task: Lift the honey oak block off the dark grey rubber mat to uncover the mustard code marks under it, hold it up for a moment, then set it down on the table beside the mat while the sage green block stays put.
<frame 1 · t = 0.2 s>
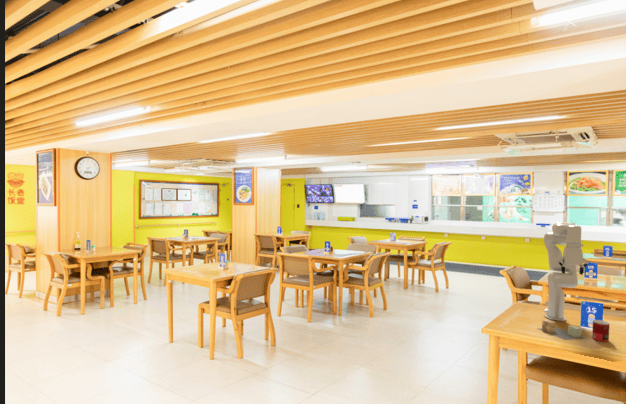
hand: (572, 273, 248), 37 cm above the table, tool pointing down, fingers open, 9 cm apart
oak block: (548, 330, 250), point 1 cm above the table, touching code mat
code mat: (560, 333, 246), on the table
sage block: (574, 335, 243), resting on code mat
canned food: (600, 340, 237), on the table
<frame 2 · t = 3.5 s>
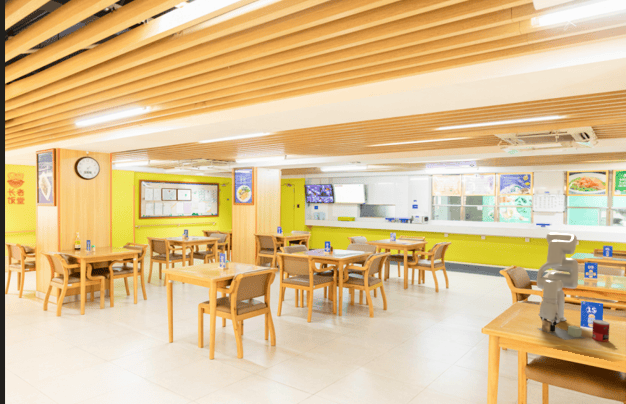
hand: (548, 329, 250), 1 cm above the table, tool pointing down, fingers closed on oak block, 5 cm apart
oak block: (548, 330, 250), point 1 cm above the table, touching code mat, gripper
everything else where it was.
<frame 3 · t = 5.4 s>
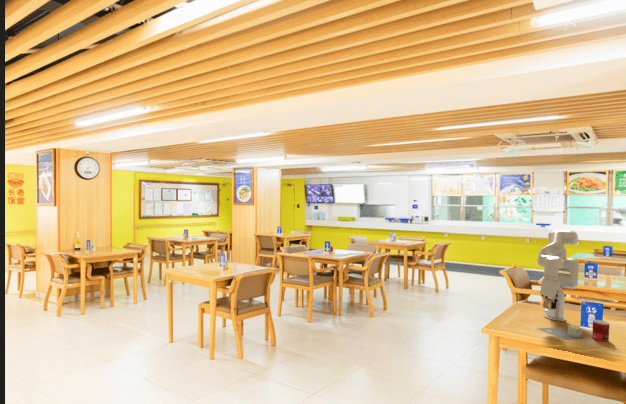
hand: (549, 307, 250), 15 cm above the table, tool pointing down, fingers closed on oak block, 5 cm apart
oak block: (549, 308, 250), point 14 cm above the table, touching gripper
everything else where it was.
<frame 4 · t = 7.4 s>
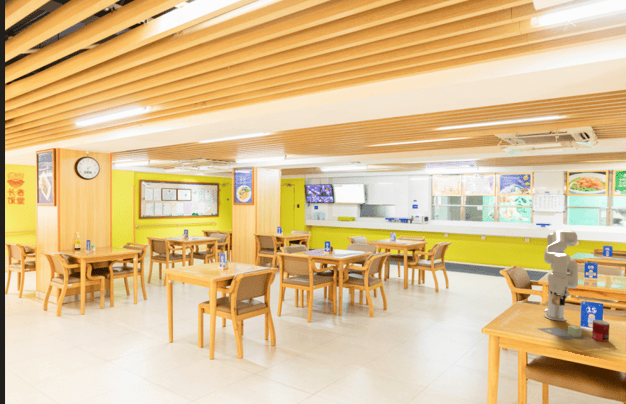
hand: (558, 303, 253), 17 cm above the table, tool pointing down, fingers closed on oak block, 5 cm apart
oak block: (558, 304, 253), point 16 cm above the table, touching gripper
everything else where it was.
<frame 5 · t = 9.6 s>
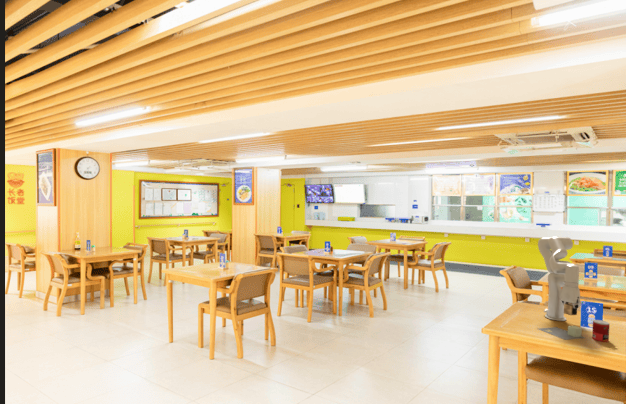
hand: (570, 312, 257), 10 cm above the table, tool pointing down, fingers closed on oak block, 5 cm apart
oak block: (570, 314, 257), point 9 cm above the table, touching gripper
everything else where it was.
when the fingers open (2 cm above the table, at t = 11.4 s): oak block drops 2 cm, on the table.
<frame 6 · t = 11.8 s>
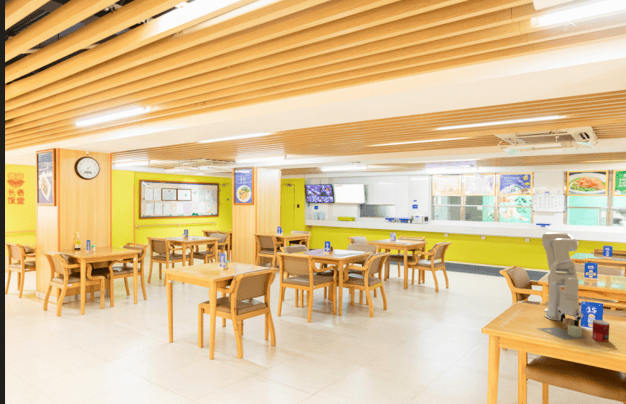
hand: (569, 323, 257), 3 cm above the table, tool pointing down, fingers open, 9 cm apart
oak block: (569, 328, 257), on the table
everything else where it was.
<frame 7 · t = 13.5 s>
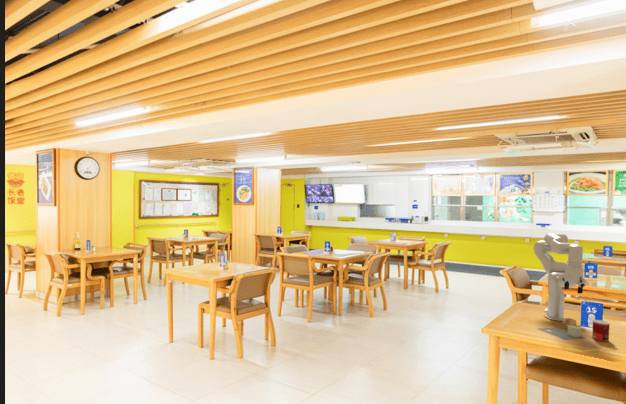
hand: (573, 291, 258), 24 cm above the table, tool pointing down, fingers open, 9 cm apart
nothing on the table moved.
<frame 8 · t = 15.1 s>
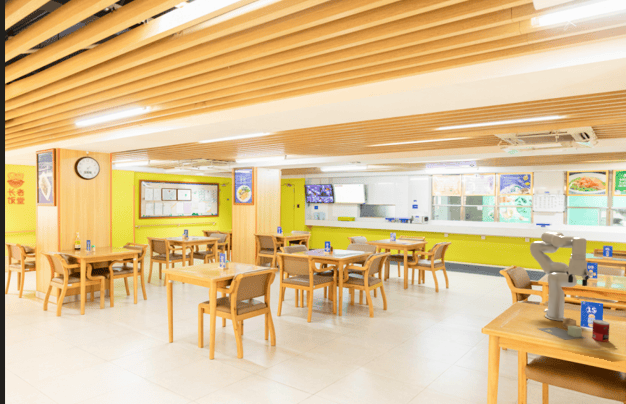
hand: (577, 284, 258), 28 cm above the table, tool pointing down, fingers open, 9 cm apart
nothing on the table moved.
at the end: oak block inside the target area (0.1 cm from its centre), on the table; oak block tilted 0°; sage block moved 0.0 cm from its start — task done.
